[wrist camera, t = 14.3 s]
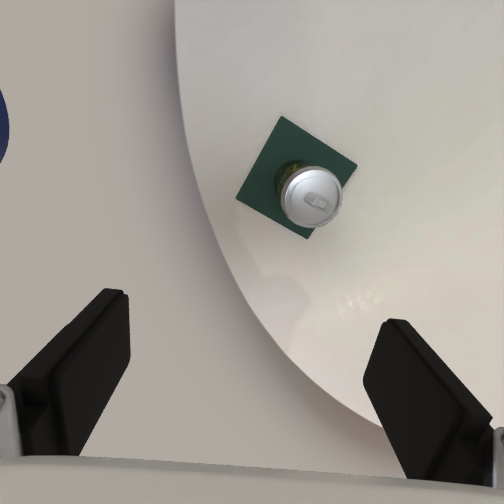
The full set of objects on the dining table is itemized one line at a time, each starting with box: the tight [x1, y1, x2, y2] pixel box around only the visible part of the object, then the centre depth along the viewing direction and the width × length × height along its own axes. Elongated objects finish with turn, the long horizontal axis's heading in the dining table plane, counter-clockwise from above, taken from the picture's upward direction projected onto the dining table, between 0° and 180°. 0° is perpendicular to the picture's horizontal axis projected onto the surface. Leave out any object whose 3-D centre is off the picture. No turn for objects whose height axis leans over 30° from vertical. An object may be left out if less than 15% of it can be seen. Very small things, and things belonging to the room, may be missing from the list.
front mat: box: [236, 116, 358, 239], centre depth 35 cm, size 11×11×1 cm
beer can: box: [274, 160, 343, 228], centre depth 29 cm, size 5×5×12 cm
